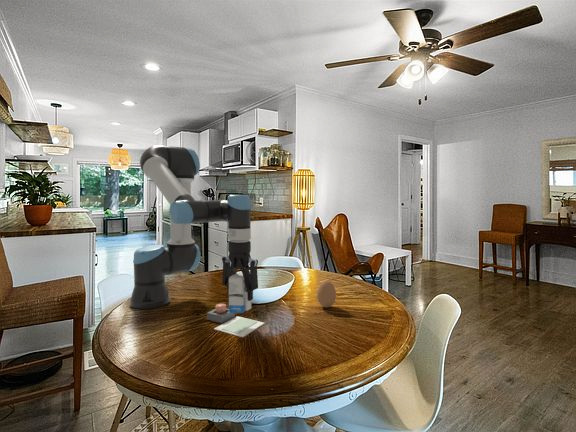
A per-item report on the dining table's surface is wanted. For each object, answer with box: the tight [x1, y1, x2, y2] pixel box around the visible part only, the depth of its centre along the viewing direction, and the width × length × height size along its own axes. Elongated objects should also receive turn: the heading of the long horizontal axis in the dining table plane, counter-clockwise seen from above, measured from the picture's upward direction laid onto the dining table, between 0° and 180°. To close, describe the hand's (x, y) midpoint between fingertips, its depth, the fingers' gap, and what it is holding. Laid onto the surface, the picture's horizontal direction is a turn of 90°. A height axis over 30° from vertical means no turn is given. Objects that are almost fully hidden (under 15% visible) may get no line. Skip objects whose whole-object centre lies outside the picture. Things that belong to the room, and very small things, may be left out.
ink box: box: [228, 271, 247, 314], centre depth 112 cm, size 9×5×12 cm, turn 168°
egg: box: [316, 280, 337, 309], centre depth 132 cm, size 8×8×11 cm
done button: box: [215, 303, 227, 314], centre depth 120 cm, size 4×4×2 cm
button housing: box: [206, 307, 236, 324], centre depth 120 cm, size 7×7×2 cm
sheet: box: [213, 315, 266, 338], centre depth 113 cm, size 12×13×1 cm
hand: (240, 307), depth 113 cm, fingers closed on ink box, 6 cm apart
